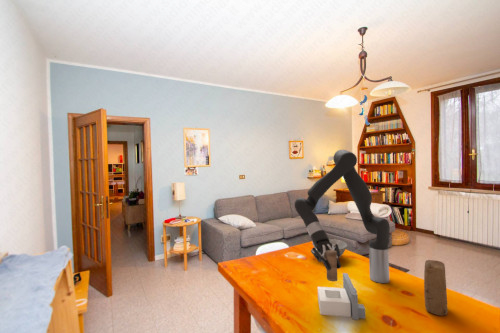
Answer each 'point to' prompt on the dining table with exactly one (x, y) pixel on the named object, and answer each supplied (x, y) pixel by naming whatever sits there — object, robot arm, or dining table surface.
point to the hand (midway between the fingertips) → (334, 268)
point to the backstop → (353, 298)
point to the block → (435, 287)
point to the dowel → (332, 265)
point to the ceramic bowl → (340, 244)
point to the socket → (334, 301)
